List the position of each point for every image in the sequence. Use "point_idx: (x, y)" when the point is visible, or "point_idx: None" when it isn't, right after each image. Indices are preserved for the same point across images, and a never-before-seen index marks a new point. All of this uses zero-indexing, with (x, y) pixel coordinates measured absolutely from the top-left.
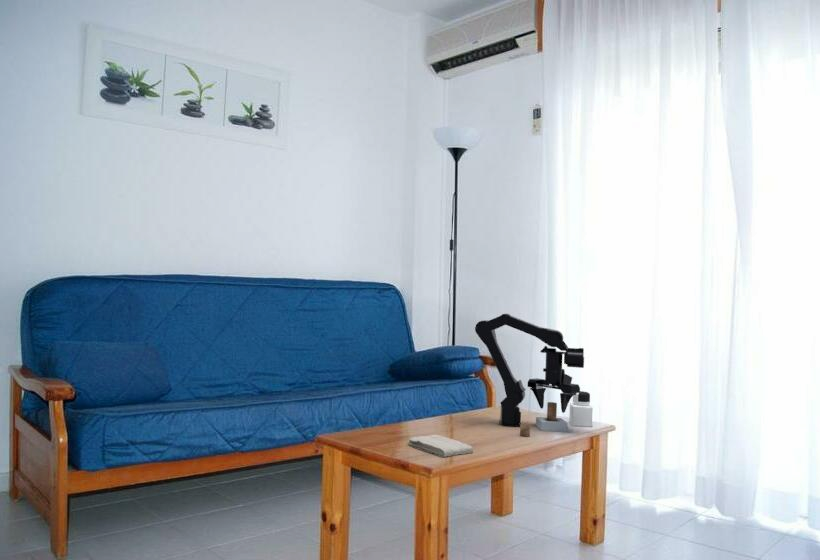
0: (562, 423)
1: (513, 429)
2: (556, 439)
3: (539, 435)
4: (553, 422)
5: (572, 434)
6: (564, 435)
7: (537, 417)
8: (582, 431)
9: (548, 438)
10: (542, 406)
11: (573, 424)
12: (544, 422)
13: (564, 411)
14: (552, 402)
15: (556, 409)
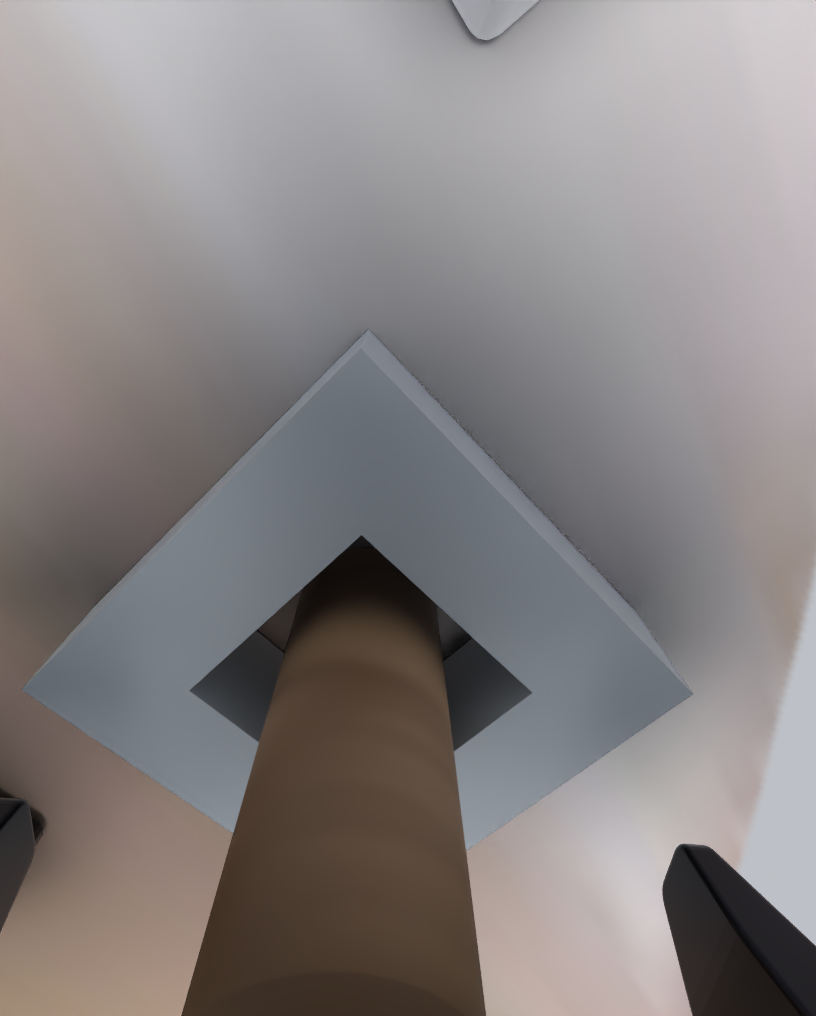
0: (614, 738)
1: (131, 964)
2: None
3: (485, 978)
4: (498, 827)
5: (750, 692)
6: (689, 805)
7: (63, 701)
8: (810, 395)
9: (615, 1006)
10: (2, 864)
11: (508, 24)
12: None
13: (718, 878)
14: (275, 1012)
15: (466, 857)
